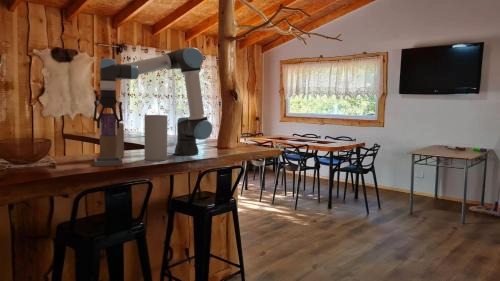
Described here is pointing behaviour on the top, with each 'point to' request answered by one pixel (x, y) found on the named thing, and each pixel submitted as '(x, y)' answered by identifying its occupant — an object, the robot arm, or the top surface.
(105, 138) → the wooden block
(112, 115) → the beverage can
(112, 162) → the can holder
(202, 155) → the top surface
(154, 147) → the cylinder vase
